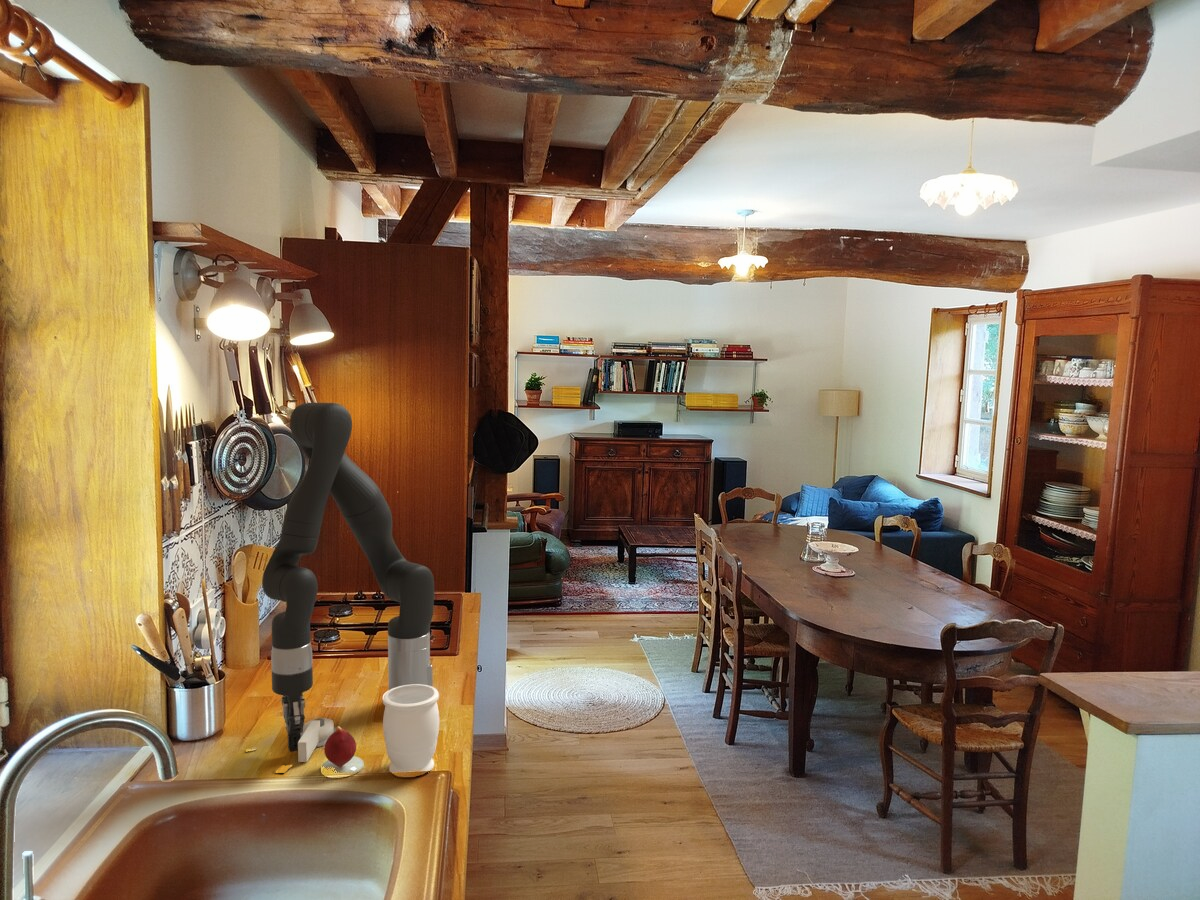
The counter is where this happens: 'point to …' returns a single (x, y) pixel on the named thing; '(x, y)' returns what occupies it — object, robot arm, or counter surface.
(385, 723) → the jar
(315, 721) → the handle
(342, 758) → the onion
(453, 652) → the counter surface
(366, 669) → the counter surface
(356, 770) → the coaster
